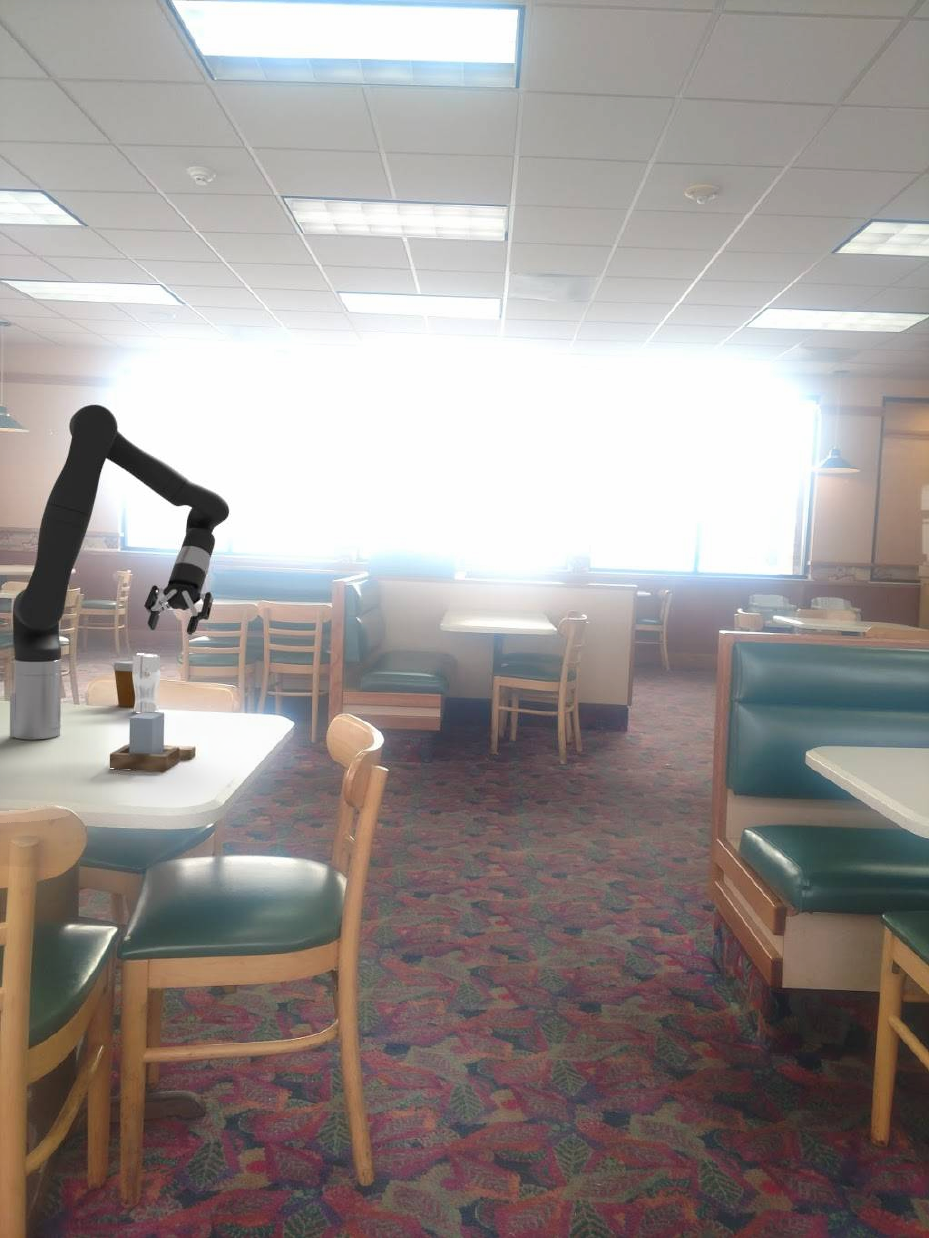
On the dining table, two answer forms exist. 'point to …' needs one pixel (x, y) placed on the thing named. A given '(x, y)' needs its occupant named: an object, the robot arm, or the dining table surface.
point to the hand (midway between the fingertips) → (170, 630)
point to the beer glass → (146, 681)
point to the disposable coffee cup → (124, 682)
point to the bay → (143, 760)
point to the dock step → (182, 751)
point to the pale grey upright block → (147, 733)
